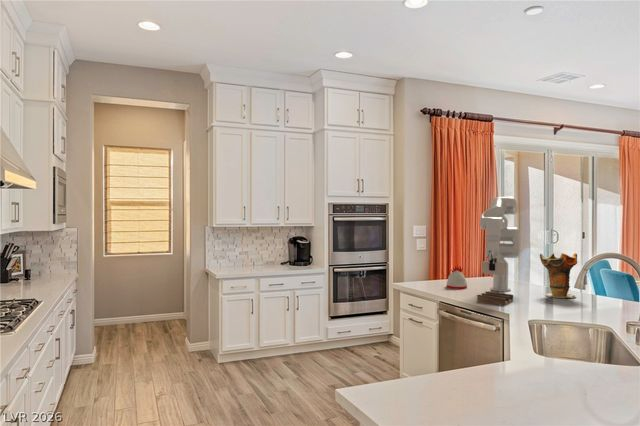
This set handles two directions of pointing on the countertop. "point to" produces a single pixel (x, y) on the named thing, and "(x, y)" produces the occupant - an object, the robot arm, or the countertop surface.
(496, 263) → the beige rectangular block
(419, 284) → the countertop surface
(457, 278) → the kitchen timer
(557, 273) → the decorative vase
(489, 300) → the walnut rack
